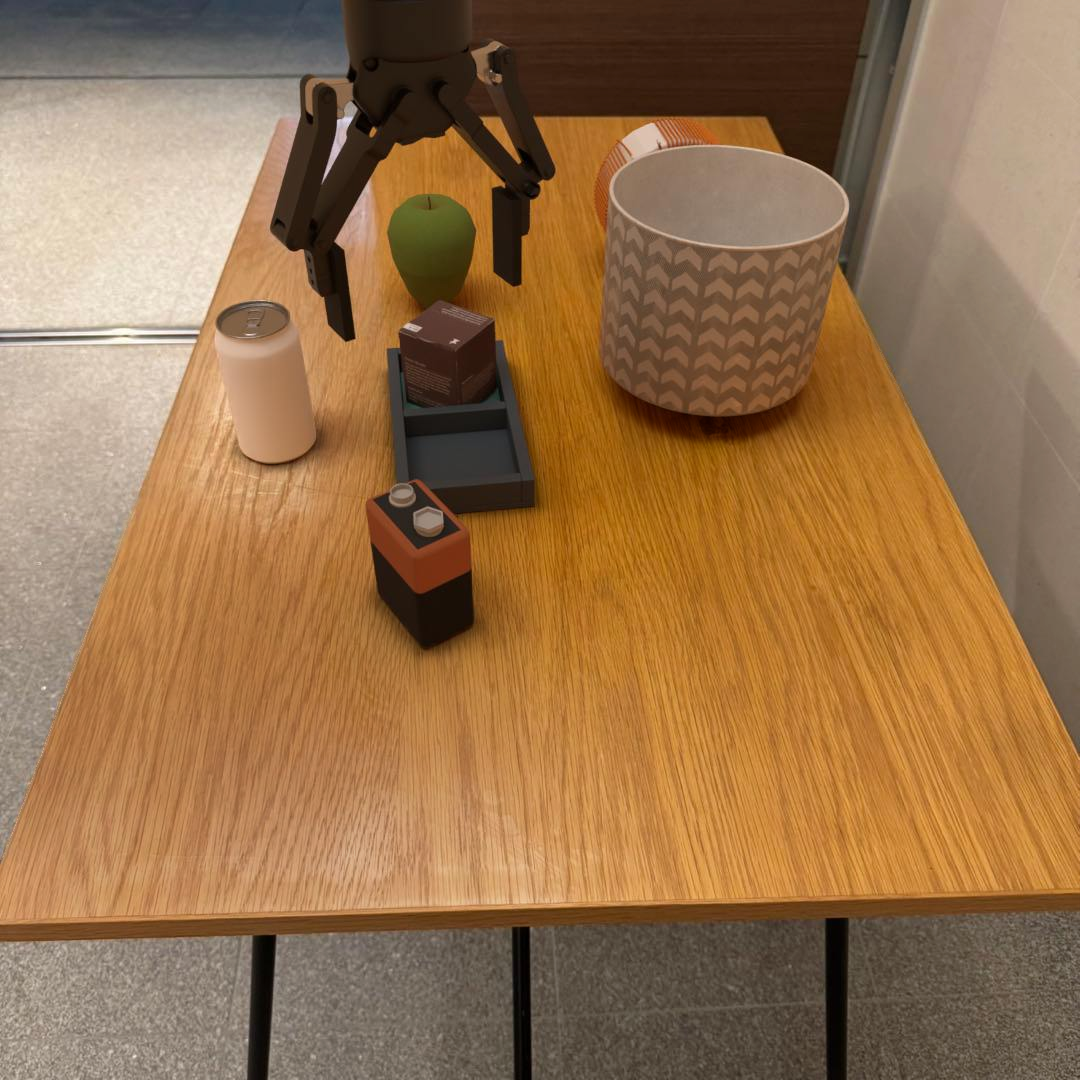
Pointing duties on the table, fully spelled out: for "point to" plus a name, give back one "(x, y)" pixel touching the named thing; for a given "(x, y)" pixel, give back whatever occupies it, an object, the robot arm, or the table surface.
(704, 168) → the planter
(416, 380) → the box
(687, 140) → the coil
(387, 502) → the battery
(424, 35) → the robot arm
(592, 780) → the table surface
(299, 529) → the table surface
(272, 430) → the can
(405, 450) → the holder
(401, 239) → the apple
